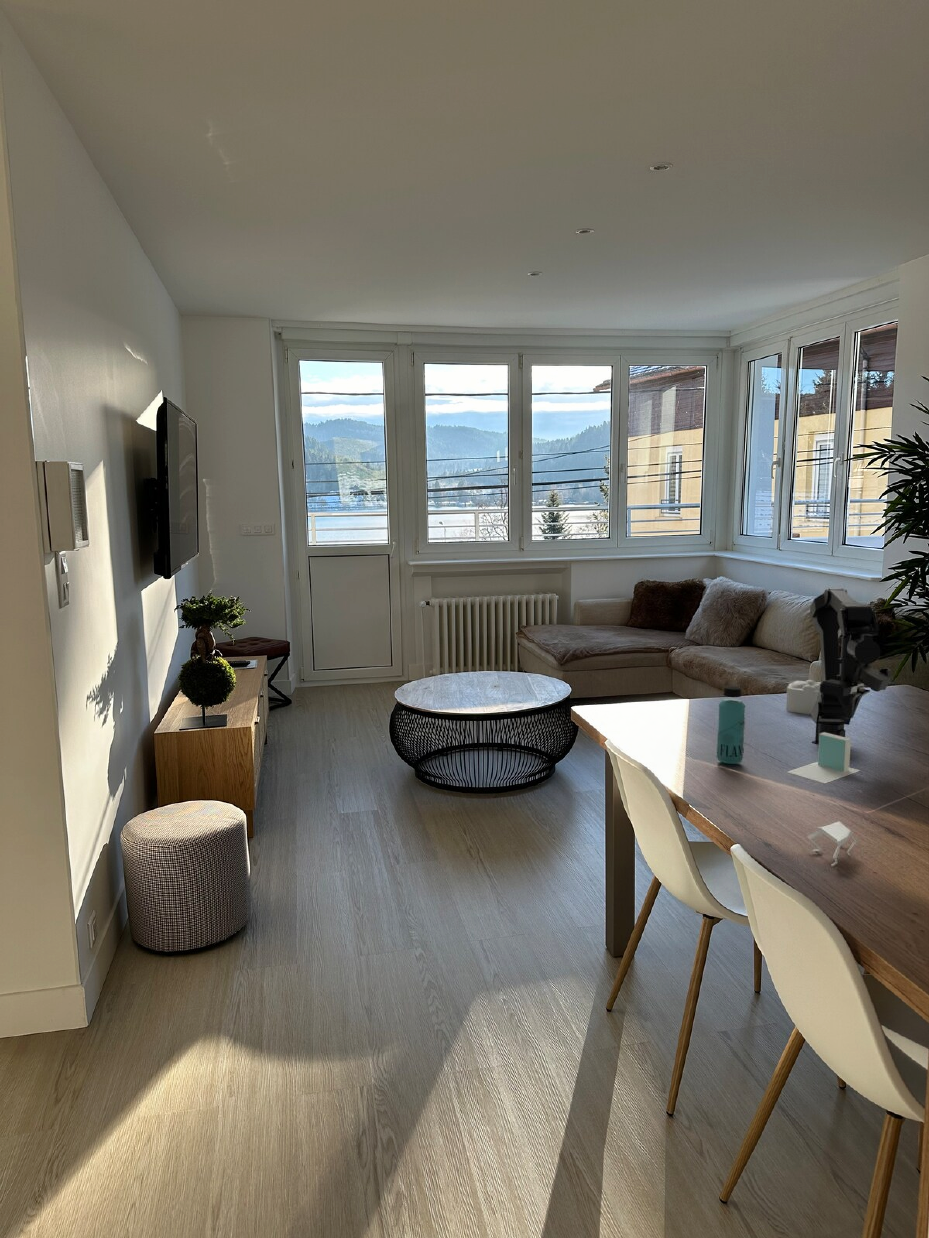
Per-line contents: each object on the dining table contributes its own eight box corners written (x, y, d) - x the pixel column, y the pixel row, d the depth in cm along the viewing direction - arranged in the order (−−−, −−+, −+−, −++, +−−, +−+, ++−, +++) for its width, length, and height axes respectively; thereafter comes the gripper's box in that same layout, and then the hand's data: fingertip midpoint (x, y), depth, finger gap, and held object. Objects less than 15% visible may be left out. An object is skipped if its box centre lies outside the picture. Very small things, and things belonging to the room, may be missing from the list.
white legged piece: (802, 842, 165) (803, 818, 164) (847, 844, 163) (849, 820, 163) (817, 869, 153) (819, 843, 152) (866, 872, 152) (868, 846, 151)
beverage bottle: (715, 768, 208) (717, 689, 205) (716, 759, 214) (719, 683, 211) (742, 770, 206) (746, 690, 203) (743, 762, 212) (747, 684, 209)
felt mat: (786, 773, 204) (786, 771, 203) (822, 761, 212) (822, 759, 212) (824, 784, 195) (824, 783, 195) (860, 772, 204) (860, 770, 204)
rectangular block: (817, 765, 208) (819, 733, 207) (822, 763, 209) (824, 732, 208) (843, 772, 202) (845, 740, 201) (849, 770, 204) (851, 738, 202)
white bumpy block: (788, 703, 268) (789, 677, 267) (832, 708, 263) (834, 680, 261) (785, 711, 259) (786, 684, 258) (831, 716, 253) (832, 688, 252)
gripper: (864, 665, 193) (860, 731, 196) (906, 656, 204) (902, 718, 206) (819, 658, 202) (816, 721, 205) (862, 649, 213) (859, 709, 215)
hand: (849, 717), depth 207 cm, fingers closed
